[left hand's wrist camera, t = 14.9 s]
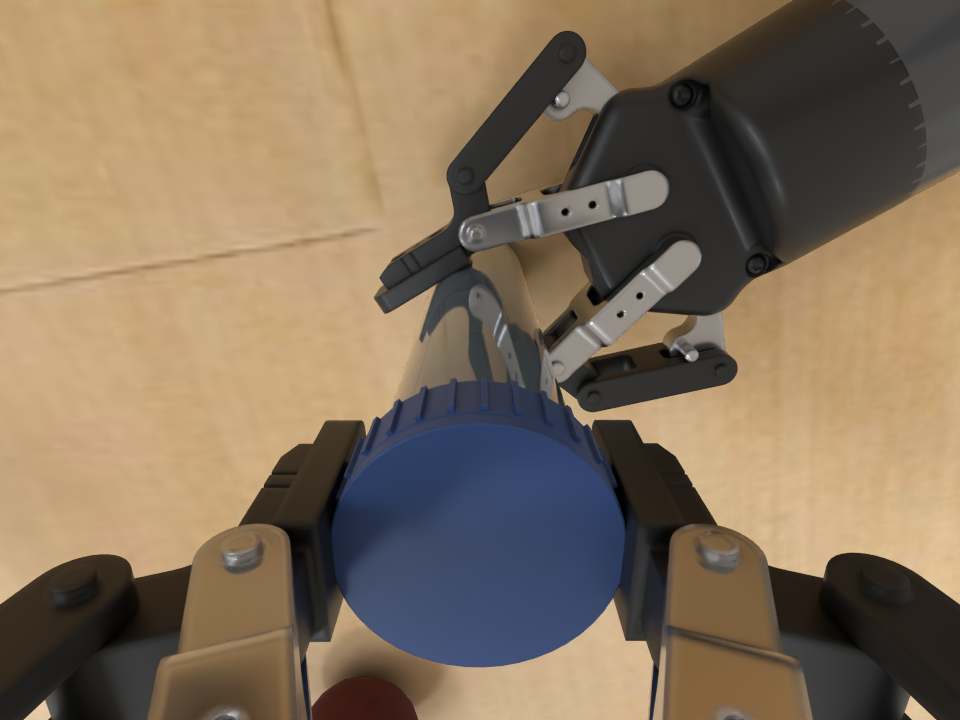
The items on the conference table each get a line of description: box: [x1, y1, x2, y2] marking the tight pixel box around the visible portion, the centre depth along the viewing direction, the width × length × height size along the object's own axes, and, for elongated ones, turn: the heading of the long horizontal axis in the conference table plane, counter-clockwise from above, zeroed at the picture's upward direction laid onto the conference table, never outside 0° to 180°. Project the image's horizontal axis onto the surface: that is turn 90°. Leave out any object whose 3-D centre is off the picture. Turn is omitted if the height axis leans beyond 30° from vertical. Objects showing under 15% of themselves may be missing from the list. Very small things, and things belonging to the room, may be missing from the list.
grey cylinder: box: [391, 244, 565, 409], centre depth 19 cm, size 4×4×20 cm
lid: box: [331, 376, 626, 667], centre depth 10 cm, size 5×5×2 cm
